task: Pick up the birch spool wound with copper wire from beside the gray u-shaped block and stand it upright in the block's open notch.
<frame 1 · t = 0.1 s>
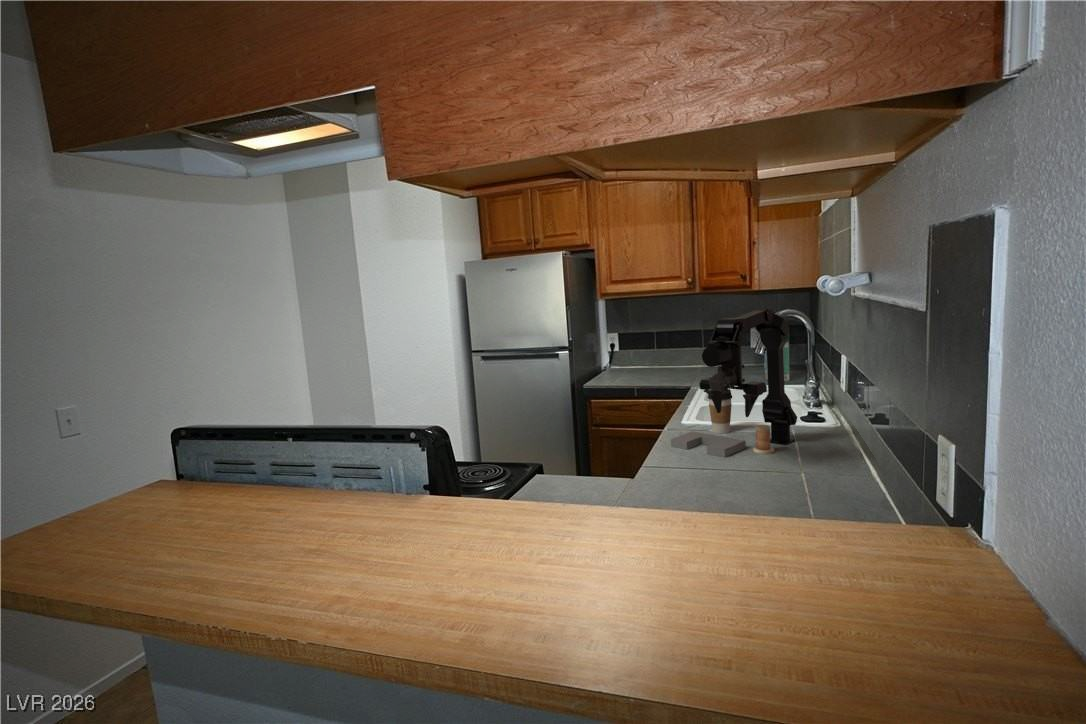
hand: (732, 414, 162), 15 cm above the countertop, fingers open, 9 cm apart
spool: (763, 451, 173), on the countertop
gray u-shaped block: (707, 447, 181), on the countertop
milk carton: (777, 380, 286), on the countertop
coffee cup: (721, 432, 199), on the countertop
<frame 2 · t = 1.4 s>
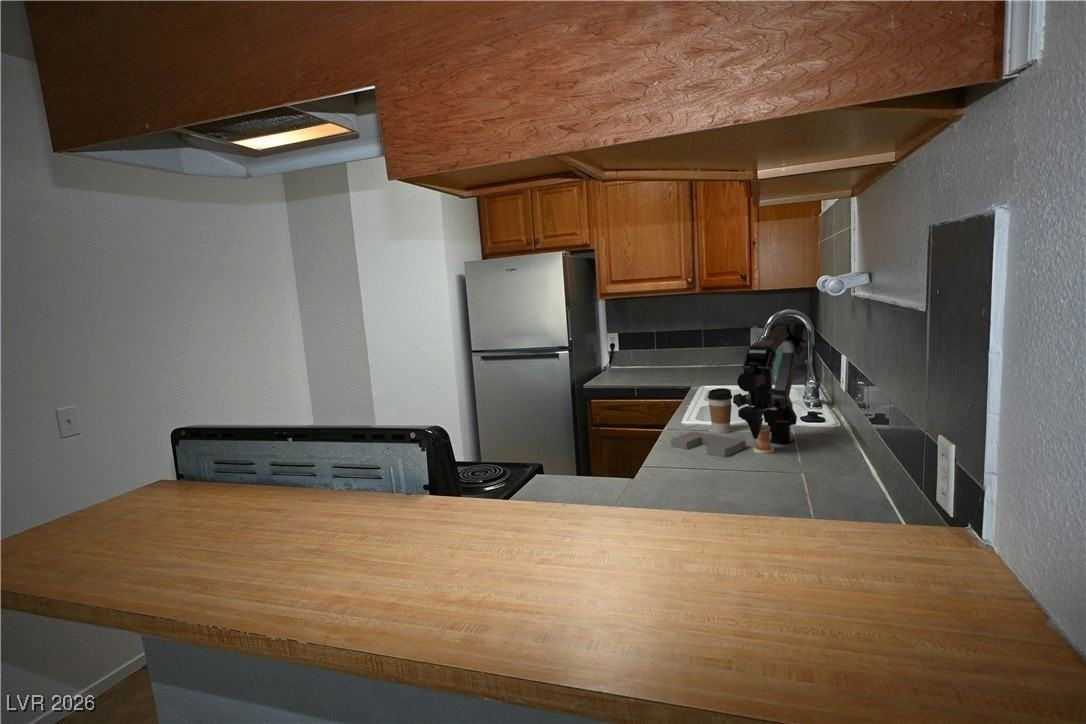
hand: (763, 435, 172), 5 cm above the countertop, fingers open, 9 cm apart
nothing on the countertop moved.
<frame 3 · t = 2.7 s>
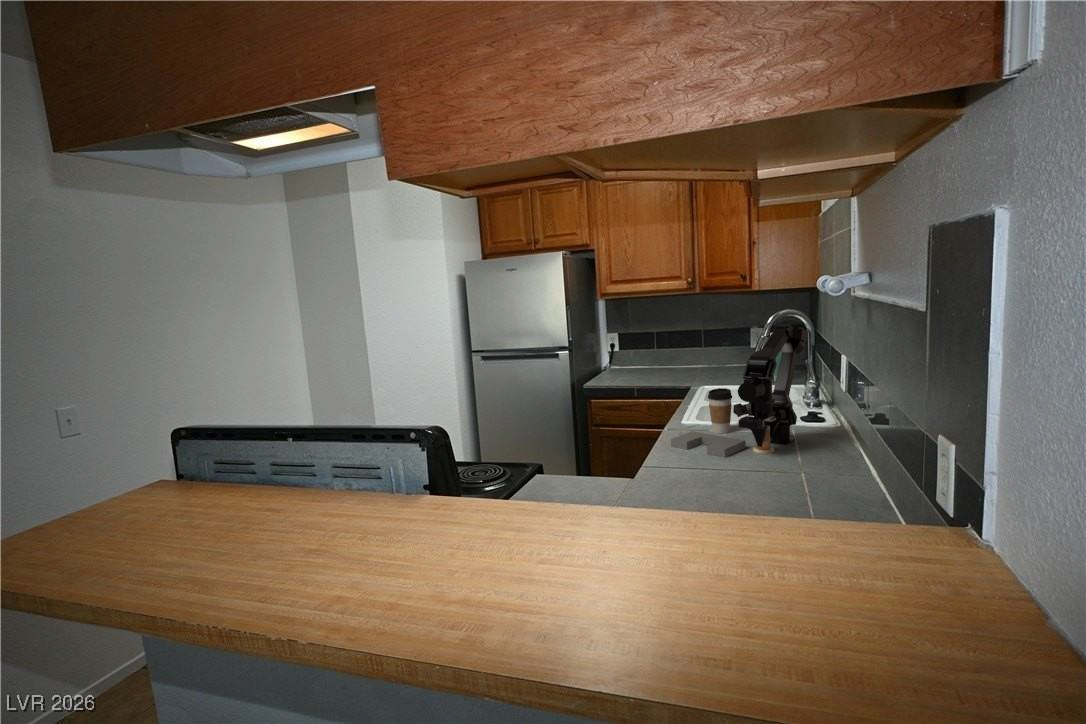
hand: (763, 445, 172), 2 cm above the countertop, fingers closed on spool, 4 cm apart
spool: (763, 451, 173), on the countertop, touching gripper
everything else where it was.
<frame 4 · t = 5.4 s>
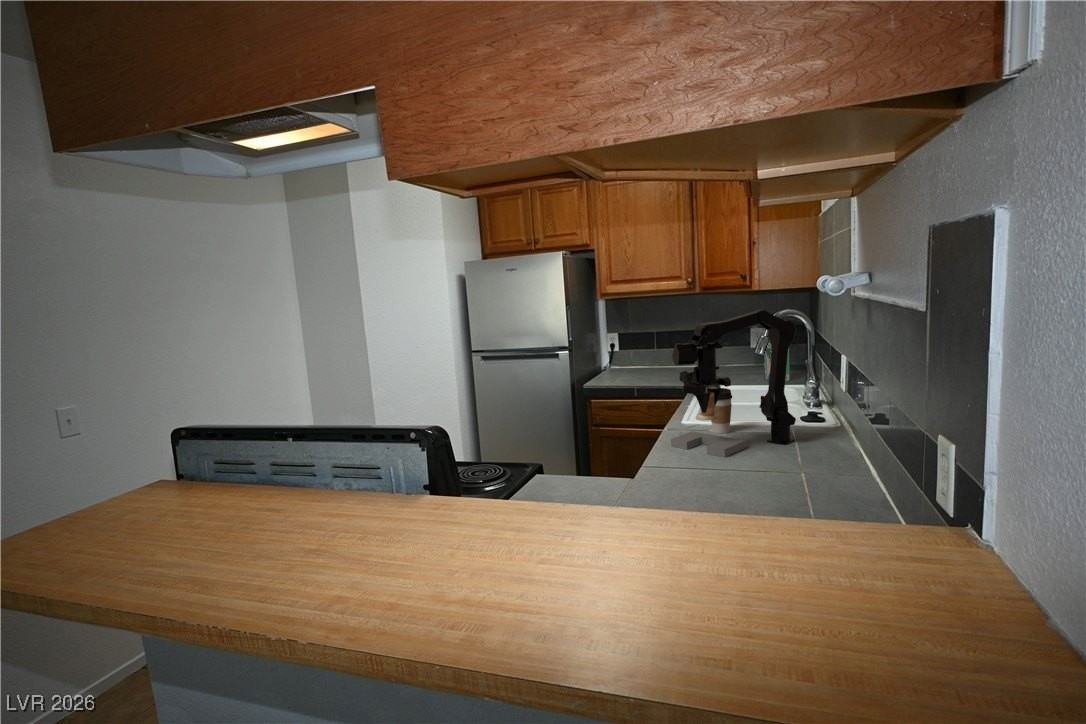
hand: (707, 411, 177), 12 cm above the countertop, fingers closed on spool, 4 cm apart
spool: (708, 417, 178), point 10 cm above the countertop, touching gripper
everything else where it was.
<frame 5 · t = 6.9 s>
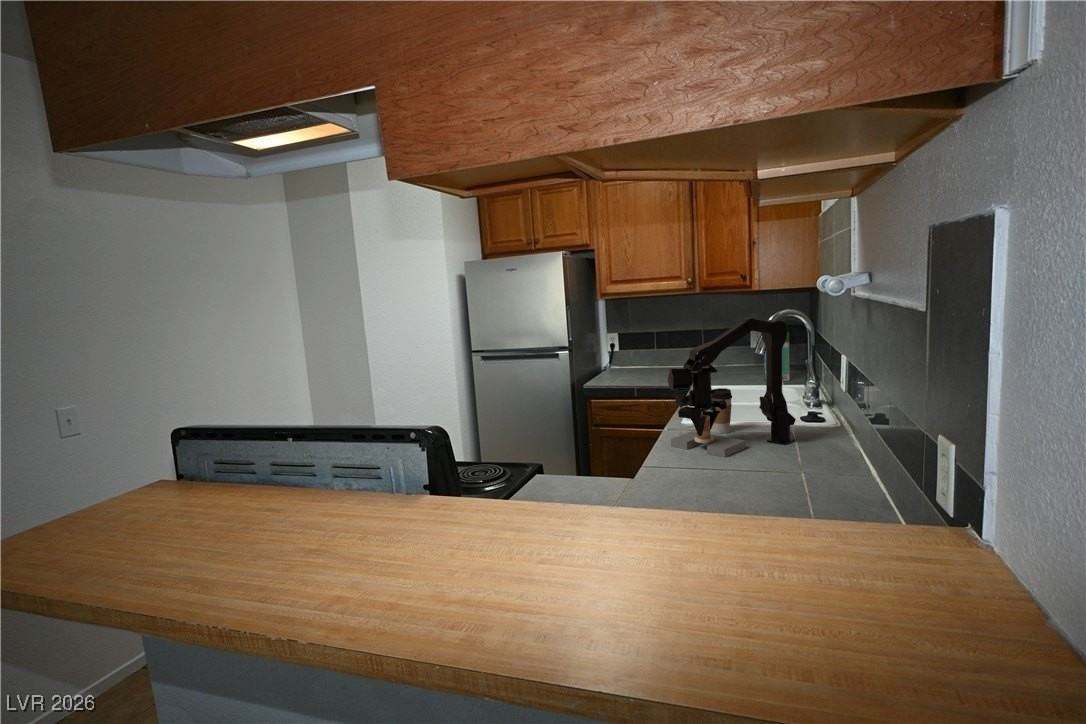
hand: (703, 434, 179), 5 cm above the countertop, fingers closed on spool, 4 cm apart
spool: (704, 440, 179), point 3 cm above the countertop, touching gripper
everything else where it was.
when the fingers open (3 cm above the countertop, at t = 7.9 s): spool drops 2 cm, on the countertop.
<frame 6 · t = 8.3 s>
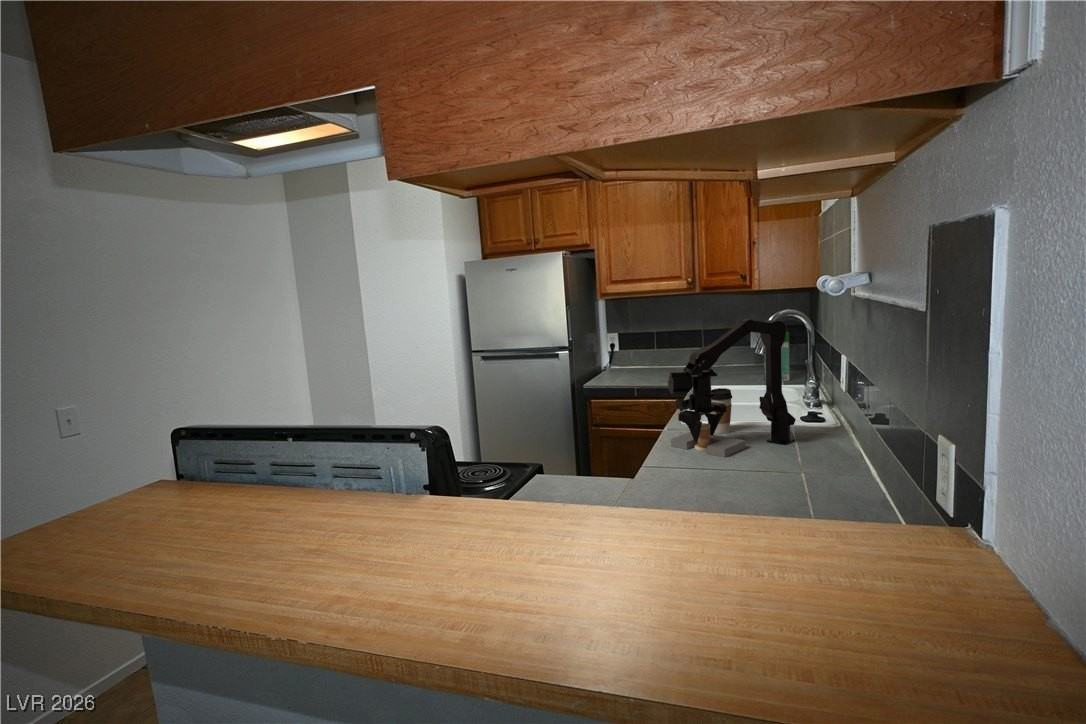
hand: (703, 438, 179), 3 cm above the countertop, fingers open, 8 cm apart
spool: (704, 448, 180), on the countertop
everything else where it was.
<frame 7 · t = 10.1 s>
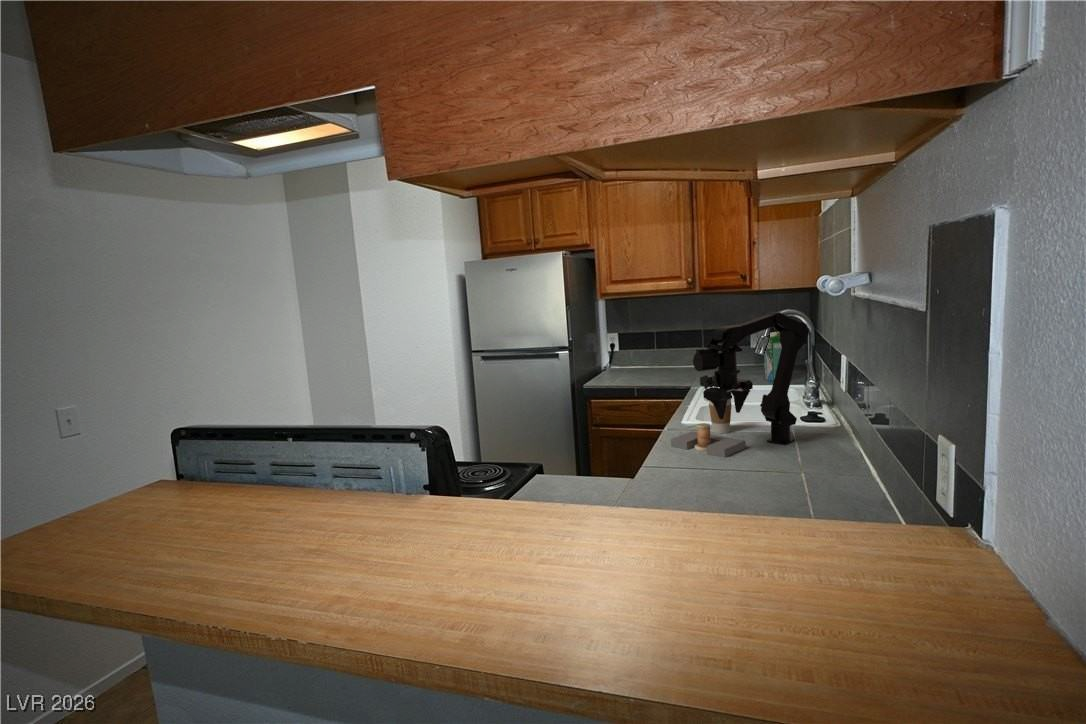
hand: (729, 415, 176), 11 cm above the countertop, fingers open, 9 cm apart
nothing on the countertop moved.
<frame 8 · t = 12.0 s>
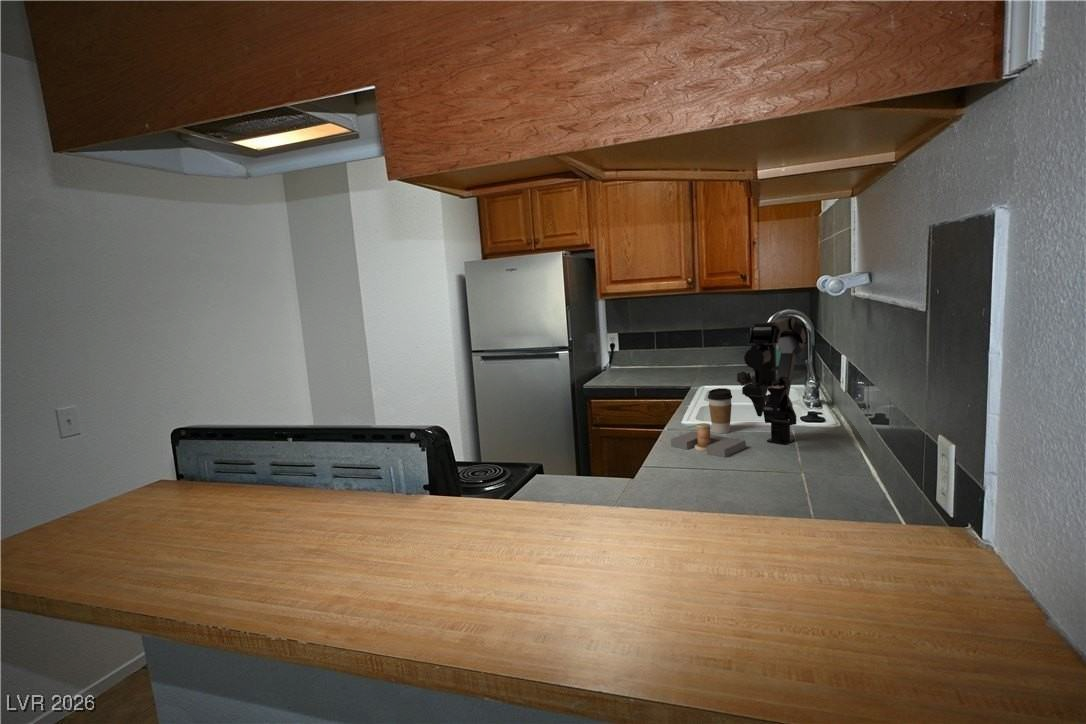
hand: (767, 413, 171), 12 cm above the countertop, fingers open, 9 cm apart
nothing on the countertop moved.
at the end: spool 0.3 cm from the target spot on the gray u-shaped block, point 0.0 cm above the gray u-shaped block's base; spool tilted 0°; the gripper is holding nothing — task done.
